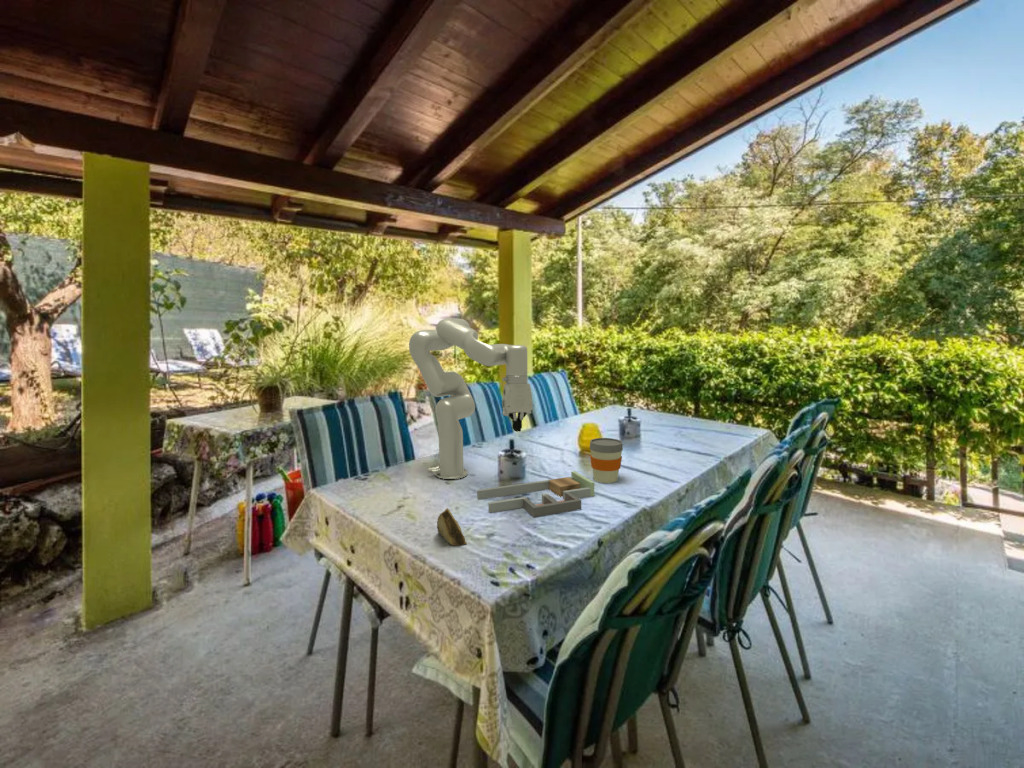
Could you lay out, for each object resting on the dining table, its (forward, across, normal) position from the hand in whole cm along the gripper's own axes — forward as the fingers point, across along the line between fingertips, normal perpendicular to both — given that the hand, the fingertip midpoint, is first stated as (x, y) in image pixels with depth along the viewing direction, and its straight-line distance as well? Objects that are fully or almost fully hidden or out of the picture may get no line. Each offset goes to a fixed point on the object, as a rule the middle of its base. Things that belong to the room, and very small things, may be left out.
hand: (517, 430), depth 170 cm
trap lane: (+22, +3, -13) cm, 26 cm away
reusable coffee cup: (+22, +36, -2) cm, 42 cm away
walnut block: (+22, +15, -8) cm, 28 cm away
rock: (+22, -32, -29) cm, 49 cm away
